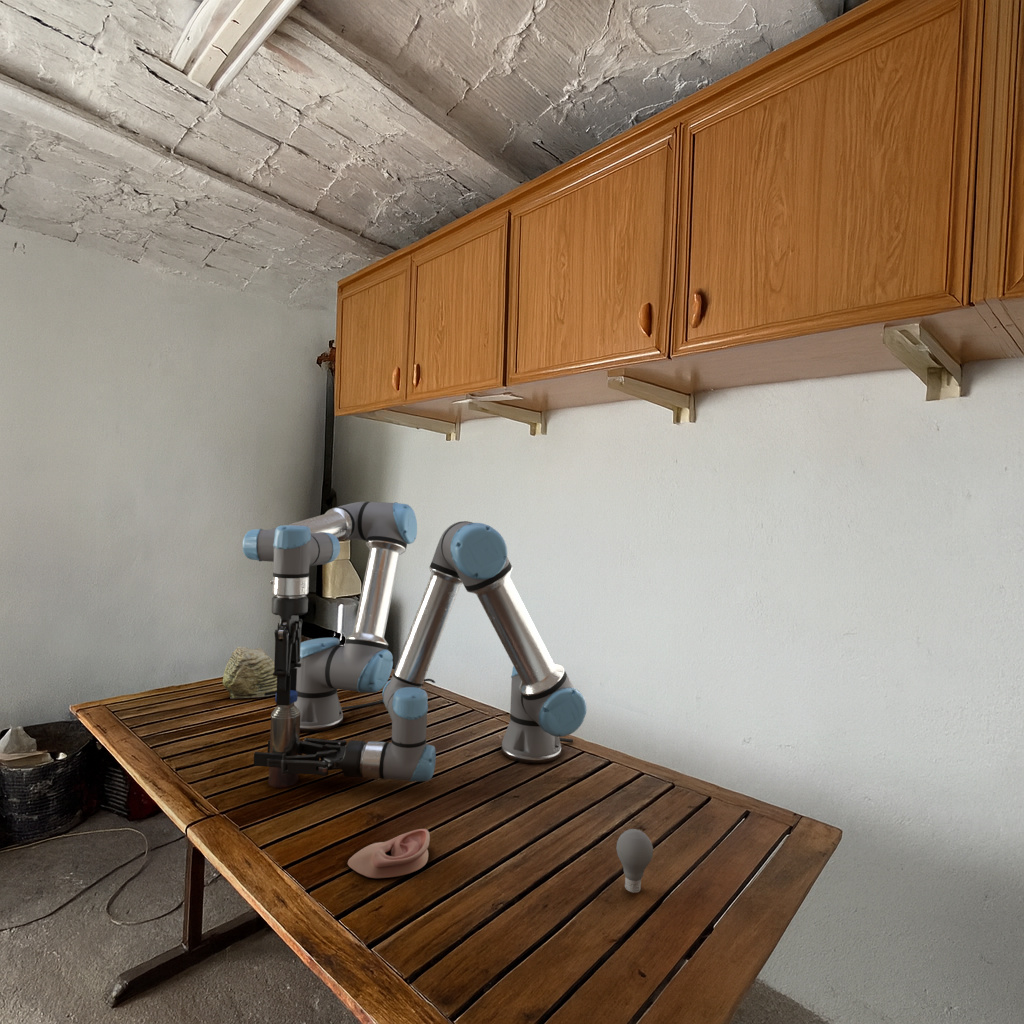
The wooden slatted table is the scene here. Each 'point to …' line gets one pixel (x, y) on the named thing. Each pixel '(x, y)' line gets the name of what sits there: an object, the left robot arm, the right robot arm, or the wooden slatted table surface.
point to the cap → (292, 696)
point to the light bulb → (634, 857)
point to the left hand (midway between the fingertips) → (286, 700)
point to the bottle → (284, 741)
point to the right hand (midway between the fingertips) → (261, 752)
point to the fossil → (250, 674)
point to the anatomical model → (393, 856)
